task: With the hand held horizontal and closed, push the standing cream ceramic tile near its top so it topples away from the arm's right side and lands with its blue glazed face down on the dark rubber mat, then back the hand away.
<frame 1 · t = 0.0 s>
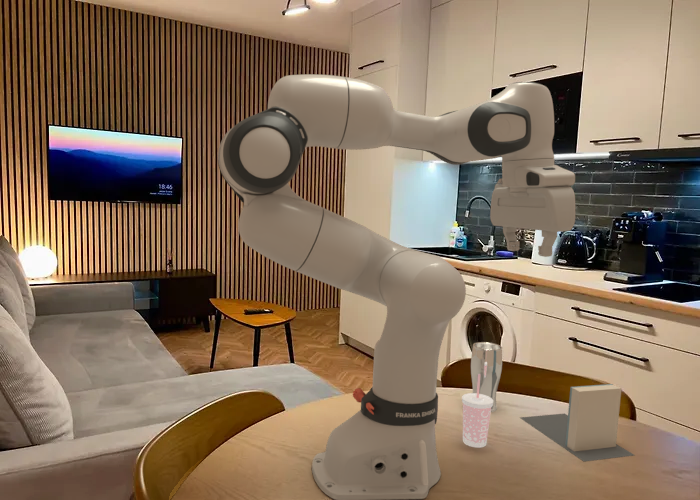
hand: (528, 253, 94), 39 cm above the table, tool pointing down, fingers open, 8 cm apart
mat: (573, 436, 108), on the table
beverage cup: (474, 443, 103), on the table
tile: (590, 446, 103), resting on mat
beer glass: (483, 409, 121), on the table
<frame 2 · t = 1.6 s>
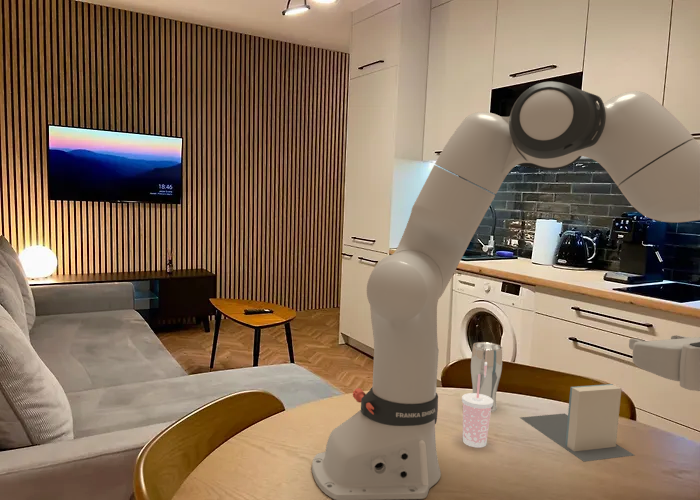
hand: (653, 341, 89), 25 cm above the table, tool horizontal, fingers open, 8 cm apart
nothing on the table moved.
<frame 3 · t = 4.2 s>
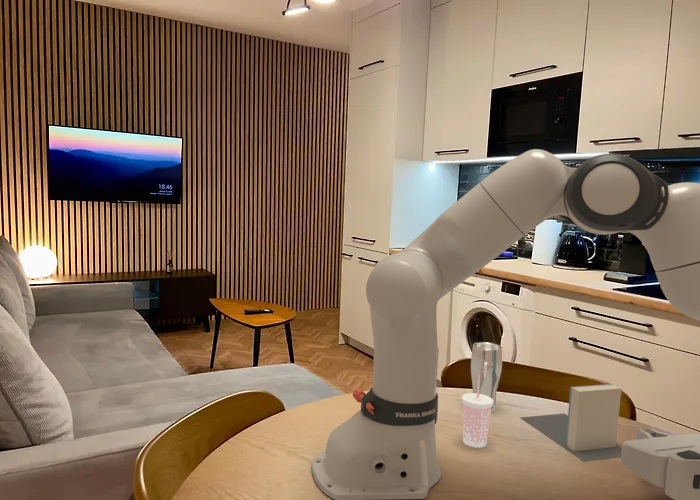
hand: (643, 433, 91), 8 cm above the table, tool horizontal, fingers closed
nothing on the table moved.
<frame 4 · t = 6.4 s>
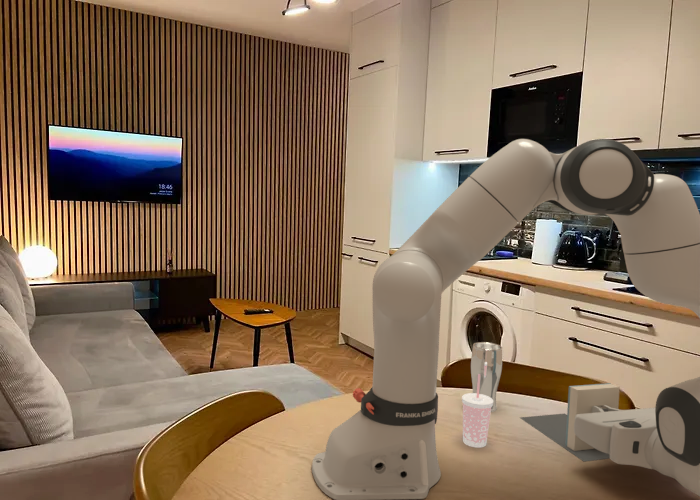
hand: (597, 409, 101), 8 cm above the table, tool horizontal, fingers closed, pressing on tile
tile: (590, 445, 103), resting on mat, touching gripper
everything else where it was.
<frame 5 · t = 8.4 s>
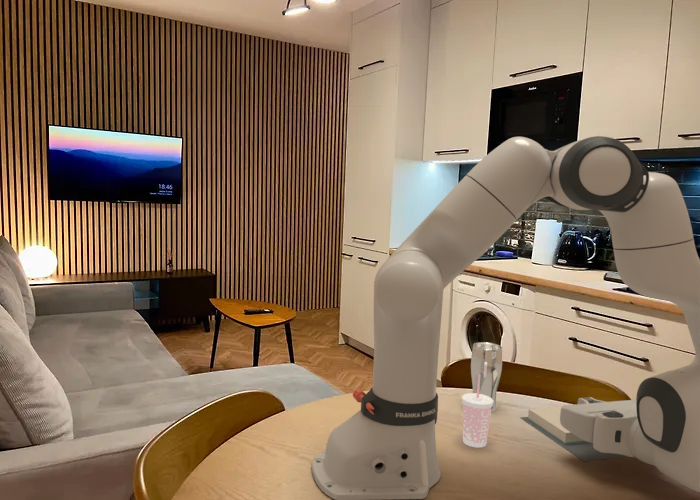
hand: (583, 401, 105), 9 cm above the table, tool horizontal, fingers closed
tile: (586, 436, 104), point 2 cm above the table, tilted 90°, touching mat
everything else where it was.
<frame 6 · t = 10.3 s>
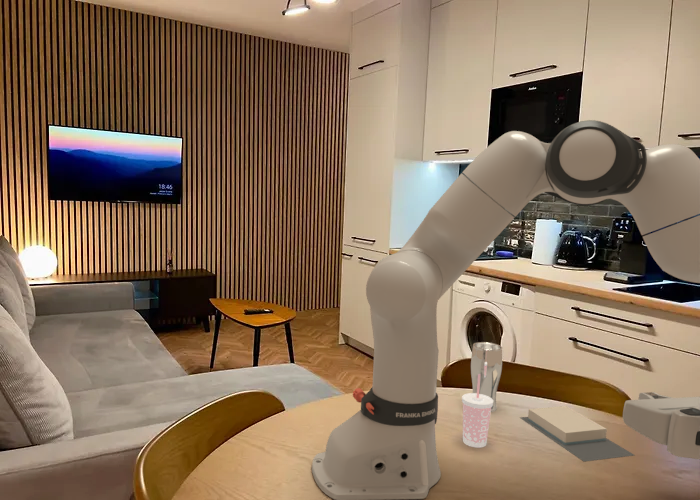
hand: (645, 396, 90), 15 cm above the table, tool horizontal, fingers closed
nothing on the table moved.
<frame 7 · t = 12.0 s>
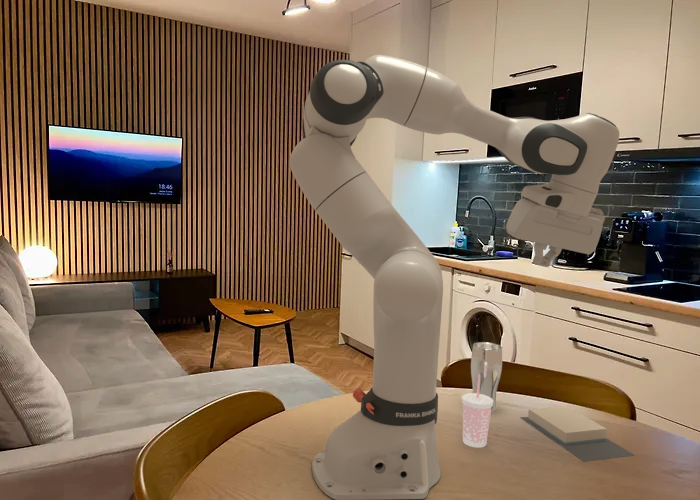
hand: (540, 265, 104), 36 cm above the table, tool tilted 20°, fingers closed
nothing on the table moved.
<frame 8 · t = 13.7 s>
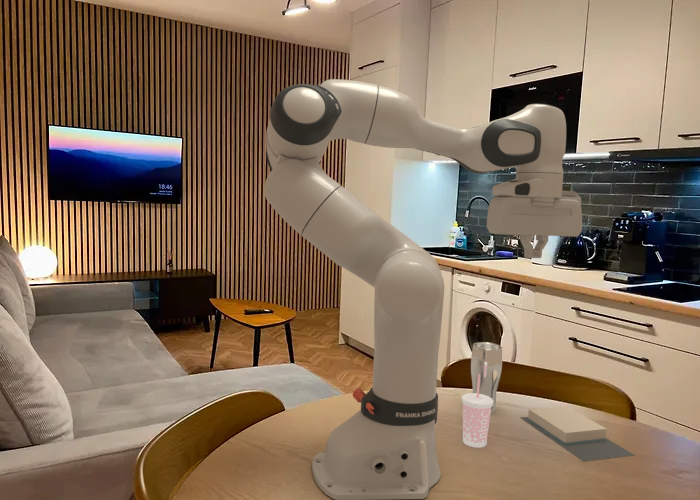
hand: (532, 257, 104), 37 cm above the table, tool pointing down, fingers closed
nothing on the table moved.
at the end: tile tilted 90°; tile inside the target area (4.6 cm from its centre), point 1.6 cm above the table; the gripper is holding nothing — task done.
